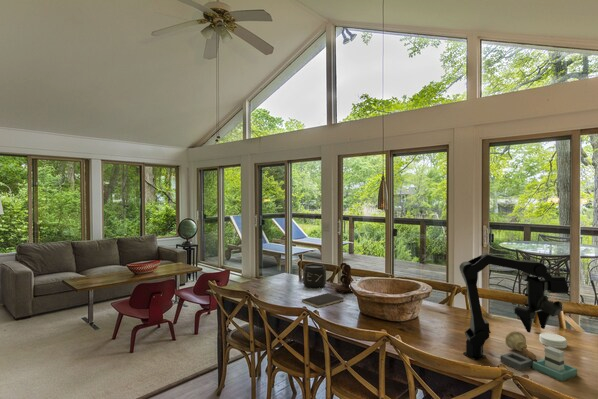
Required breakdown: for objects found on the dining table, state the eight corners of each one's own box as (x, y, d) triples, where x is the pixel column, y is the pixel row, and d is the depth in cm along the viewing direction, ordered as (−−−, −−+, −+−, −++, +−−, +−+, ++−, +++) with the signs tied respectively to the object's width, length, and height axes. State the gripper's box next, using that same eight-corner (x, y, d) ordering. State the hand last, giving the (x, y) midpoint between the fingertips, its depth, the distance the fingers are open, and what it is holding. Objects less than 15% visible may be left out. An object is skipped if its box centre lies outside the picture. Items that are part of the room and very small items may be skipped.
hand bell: (511, 327, 146) (531, 346, 130) (529, 337, 145) (551, 358, 130) (501, 343, 147) (519, 363, 132) (518, 352, 147) (538, 374, 131)
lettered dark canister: (297, 286, 254) (297, 266, 254) (312, 282, 268) (312, 262, 268) (316, 290, 242) (316, 269, 242) (330, 285, 256) (330, 265, 256)
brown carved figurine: (358, 293, 236) (358, 264, 236) (339, 294, 233) (339, 265, 233) (351, 287, 250) (351, 261, 250) (332, 288, 247) (332, 262, 247)
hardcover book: (344, 301, 218) (344, 298, 218) (318, 308, 204) (318, 305, 204) (327, 296, 231) (327, 292, 231) (301, 302, 216) (301, 299, 216)
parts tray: (561, 381, 121) (561, 374, 121) (532, 368, 130) (532, 362, 130) (577, 375, 125) (577, 368, 125) (548, 363, 134) (548, 357, 134)
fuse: (559, 374, 124) (559, 353, 124) (544, 368, 129) (544, 347, 129) (564, 372, 126) (564, 351, 126) (549, 366, 130) (549, 346, 130)
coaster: (534, 339, 157) (534, 332, 157) (555, 339, 157) (555, 332, 157) (549, 349, 147) (549, 341, 147) (572, 349, 147) (572, 341, 147)
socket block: (520, 370, 128) (520, 364, 128) (500, 361, 136) (500, 355, 136) (533, 366, 132) (533, 360, 132) (513, 357, 139) (513, 351, 139)
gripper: (543, 300, 124) (543, 342, 124) (571, 294, 132) (571, 333, 132) (513, 292, 134) (513, 331, 134) (541, 287, 142) (541, 324, 142)
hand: (535, 330), depth 135 cm, fingers open, 9 cm apart
